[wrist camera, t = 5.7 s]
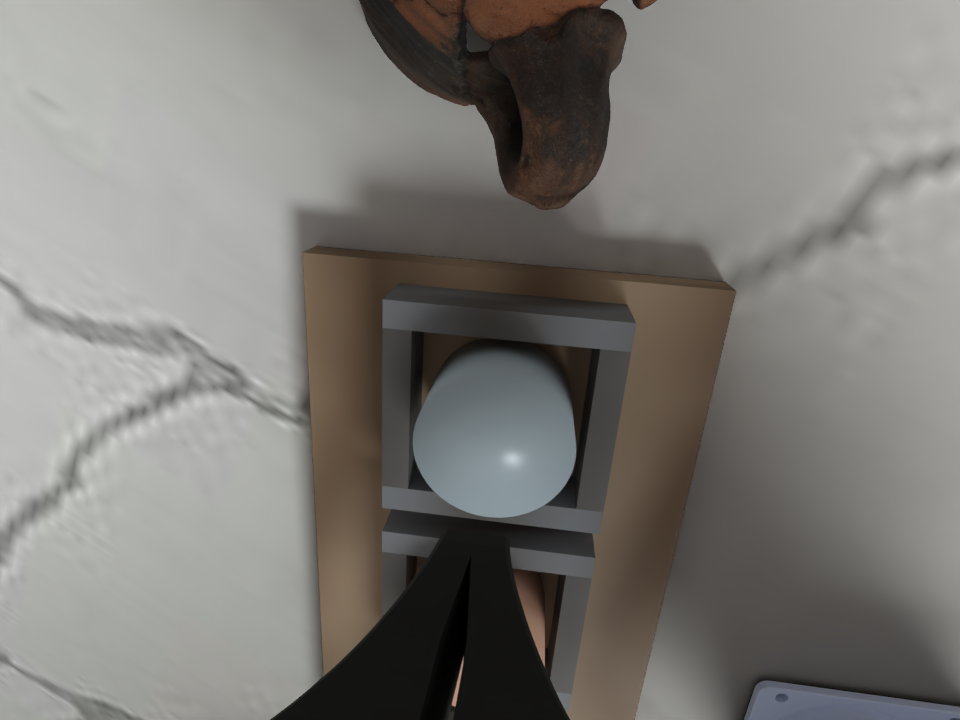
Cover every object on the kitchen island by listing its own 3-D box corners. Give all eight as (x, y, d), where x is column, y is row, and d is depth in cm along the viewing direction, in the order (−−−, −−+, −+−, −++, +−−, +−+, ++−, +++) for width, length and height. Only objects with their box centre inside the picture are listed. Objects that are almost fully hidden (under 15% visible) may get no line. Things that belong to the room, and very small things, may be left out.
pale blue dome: (580, 343, 19) (586, 382, 16) (562, 469, 20) (565, 526, 17) (435, 329, 19) (414, 365, 16) (430, 454, 21) (410, 507, 18)
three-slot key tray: (725, 281, 19) (757, 308, 16) (609, 790, 29) (616, 865, 26) (316, 246, 20) (276, 265, 17) (336, 748, 30) (313, 815, 27)
